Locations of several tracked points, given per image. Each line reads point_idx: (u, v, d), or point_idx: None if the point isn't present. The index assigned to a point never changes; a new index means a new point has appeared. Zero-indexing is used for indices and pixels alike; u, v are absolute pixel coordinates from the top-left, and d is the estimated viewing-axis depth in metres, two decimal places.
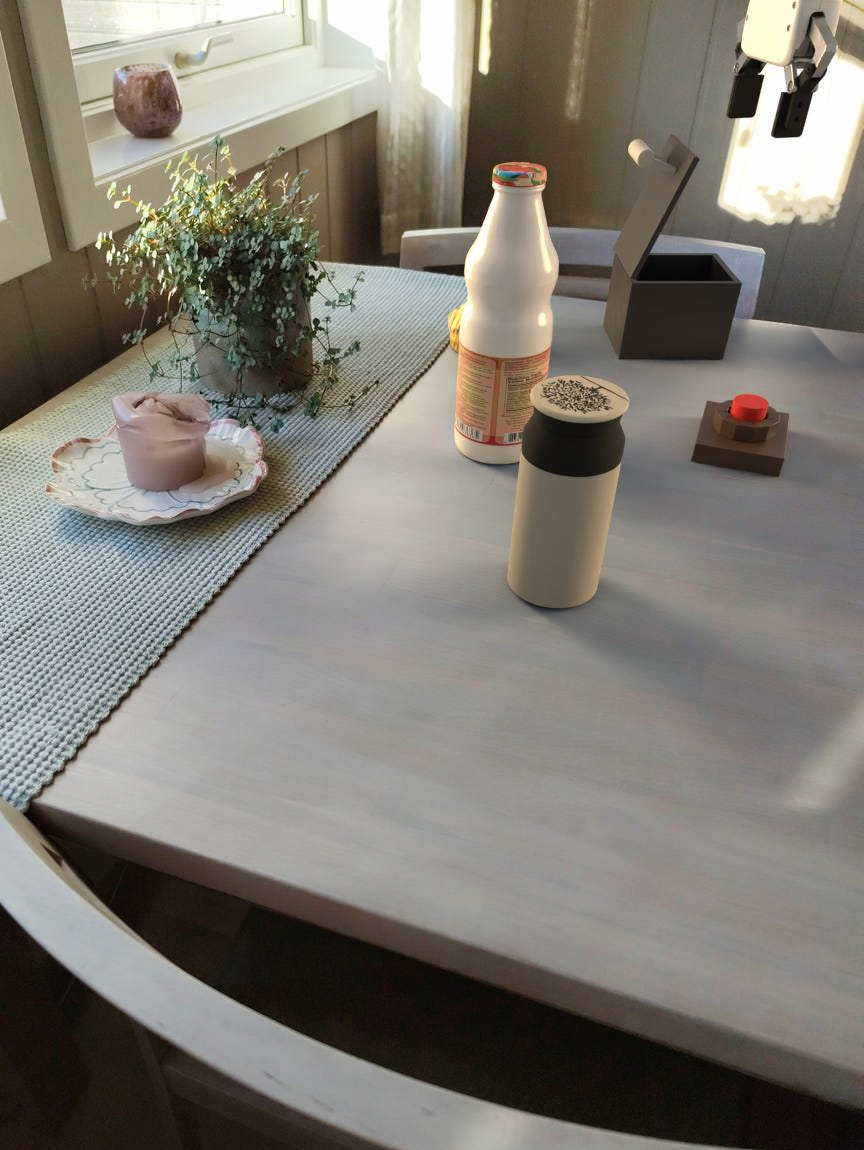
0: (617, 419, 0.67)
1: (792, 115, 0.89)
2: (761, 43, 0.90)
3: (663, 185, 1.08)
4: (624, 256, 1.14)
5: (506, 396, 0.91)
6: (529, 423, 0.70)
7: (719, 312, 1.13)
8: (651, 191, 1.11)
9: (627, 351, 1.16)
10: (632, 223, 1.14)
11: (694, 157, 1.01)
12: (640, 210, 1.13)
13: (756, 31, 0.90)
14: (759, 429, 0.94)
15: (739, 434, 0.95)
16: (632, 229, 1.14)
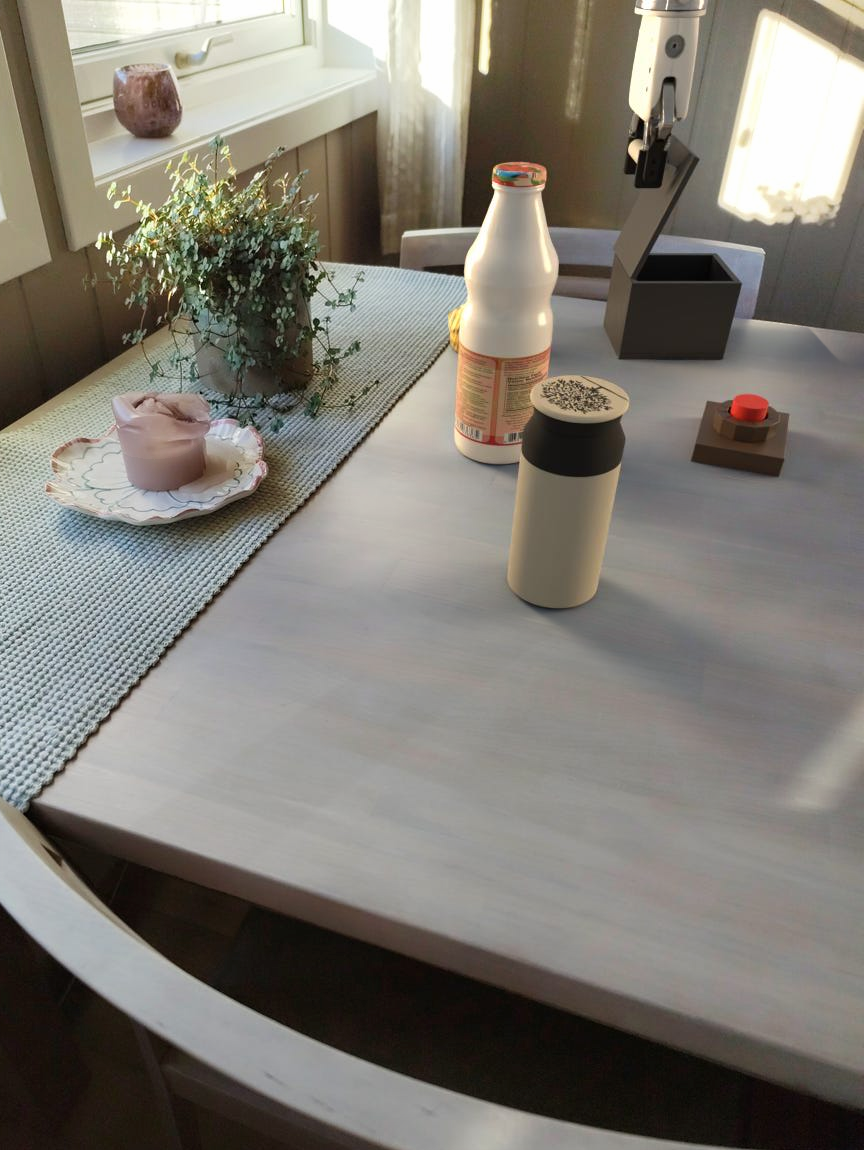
0: (617, 419, 0.67)
1: (648, 170, 1.04)
2: (635, 100, 1.03)
3: (663, 185, 1.08)
4: (624, 256, 1.14)
5: (506, 396, 0.91)
6: (529, 423, 0.70)
7: (719, 312, 1.13)
8: (651, 191, 1.11)
9: (627, 351, 1.16)
10: (632, 223, 1.14)
11: (694, 157, 1.01)
12: (640, 210, 1.13)
13: (633, 89, 1.03)
14: (759, 429, 0.94)
15: (739, 434, 0.95)
16: (632, 229, 1.14)
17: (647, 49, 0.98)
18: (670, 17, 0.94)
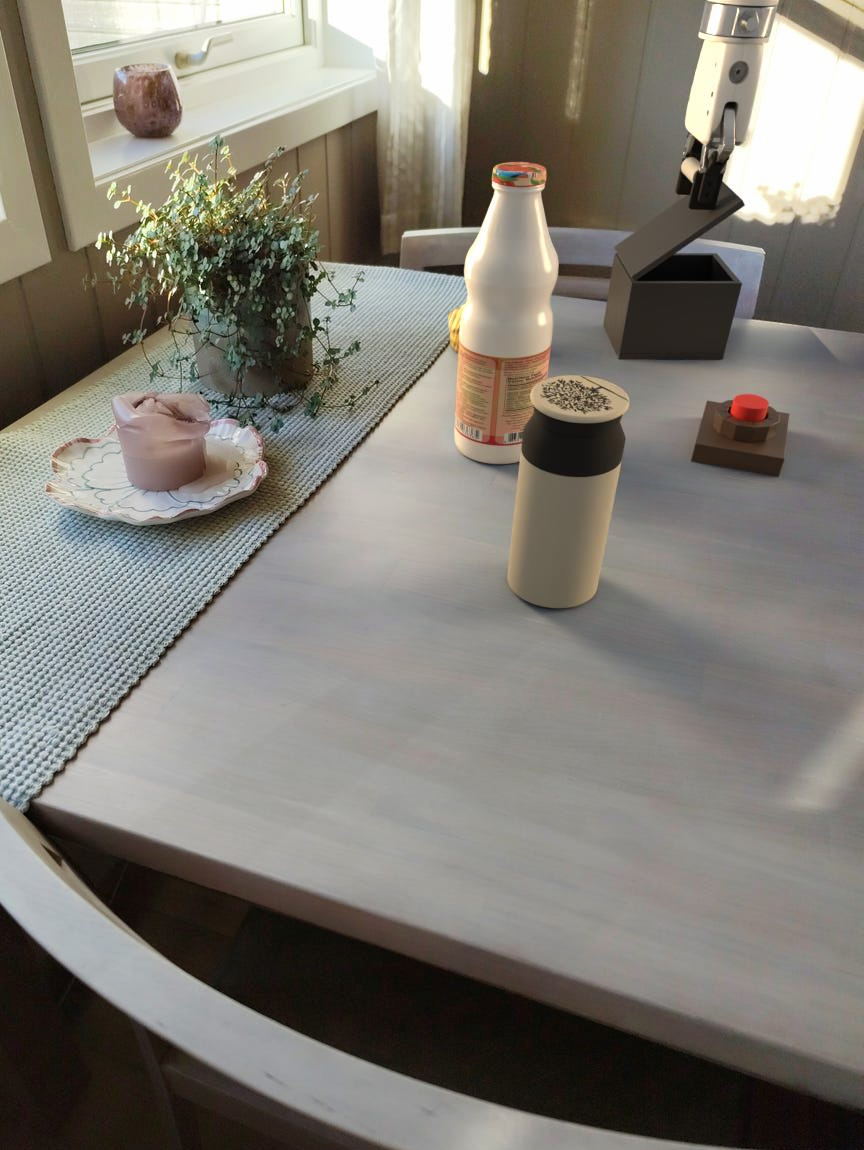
0: (617, 419, 0.67)
1: (704, 192, 1.05)
2: (693, 122, 1.04)
3: (696, 212, 1.10)
4: (628, 257, 1.14)
5: (506, 396, 0.91)
6: (529, 423, 0.70)
7: (719, 312, 1.13)
8: (678, 213, 1.13)
9: (627, 351, 1.16)
10: (645, 233, 1.15)
11: (741, 201, 1.04)
12: (659, 225, 1.14)
13: (692, 111, 1.05)
14: (759, 429, 0.94)
15: (739, 434, 0.95)
16: (645, 238, 1.14)
17: (710, 73, 0.99)
18: (735, 43, 0.96)
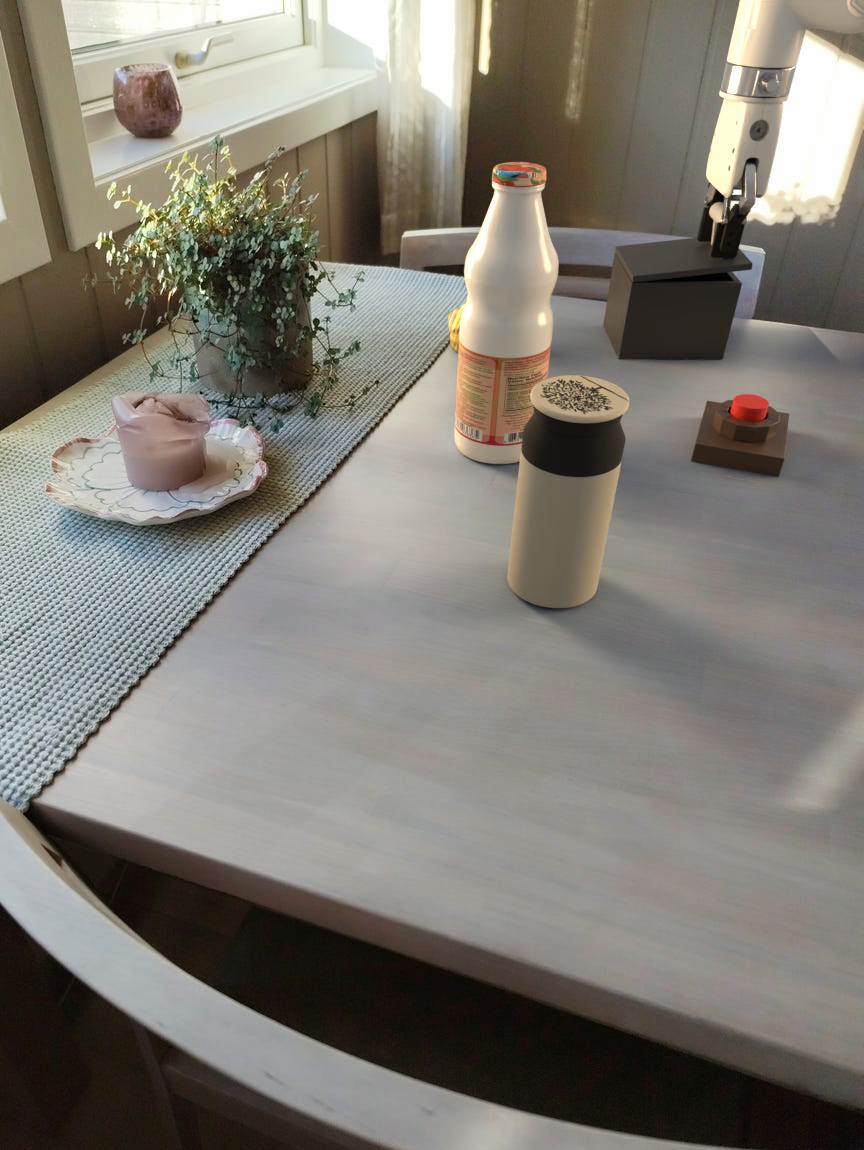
0: (617, 419, 0.67)
1: (725, 241, 1.09)
2: (715, 175, 1.08)
3: (704, 254, 1.13)
4: (631, 260, 1.14)
5: (506, 396, 0.91)
6: (529, 423, 0.70)
7: (719, 312, 1.13)
8: (687, 248, 1.15)
9: (627, 351, 1.16)
10: (650, 249, 1.16)
11: (751, 264, 1.09)
12: (665, 248, 1.16)
13: (713, 164, 1.08)
14: (759, 429, 0.94)
15: (739, 434, 0.95)
16: (650, 252, 1.15)
17: (731, 131, 1.03)
18: (756, 103, 0.99)
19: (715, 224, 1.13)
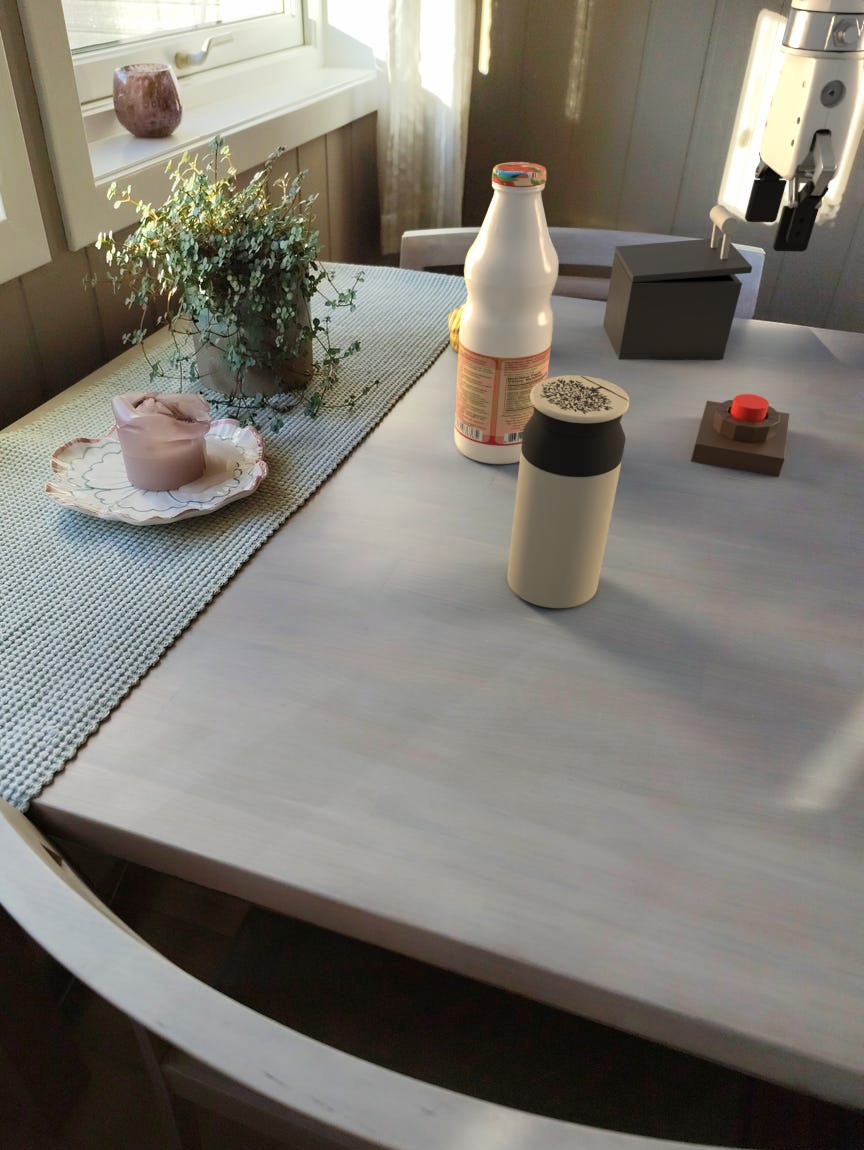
0: (617, 419, 0.67)
1: (794, 230, 0.86)
2: (772, 153, 0.87)
3: (704, 256, 1.13)
4: (631, 260, 1.14)
5: (506, 396, 0.91)
6: (529, 423, 0.70)
7: (719, 312, 1.13)
8: (686, 249, 1.15)
9: (627, 351, 1.16)
10: (650, 250, 1.16)
11: (751, 267, 1.09)
12: (665, 250, 1.16)
13: (770, 140, 0.87)
14: (759, 429, 0.94)
15: (739, 434, 0.95)
16: (650, 253, 1.16)
17: (795, 95, 0.81)
18: (829, 59, 0.78)
19: (715, 227, 1.13)
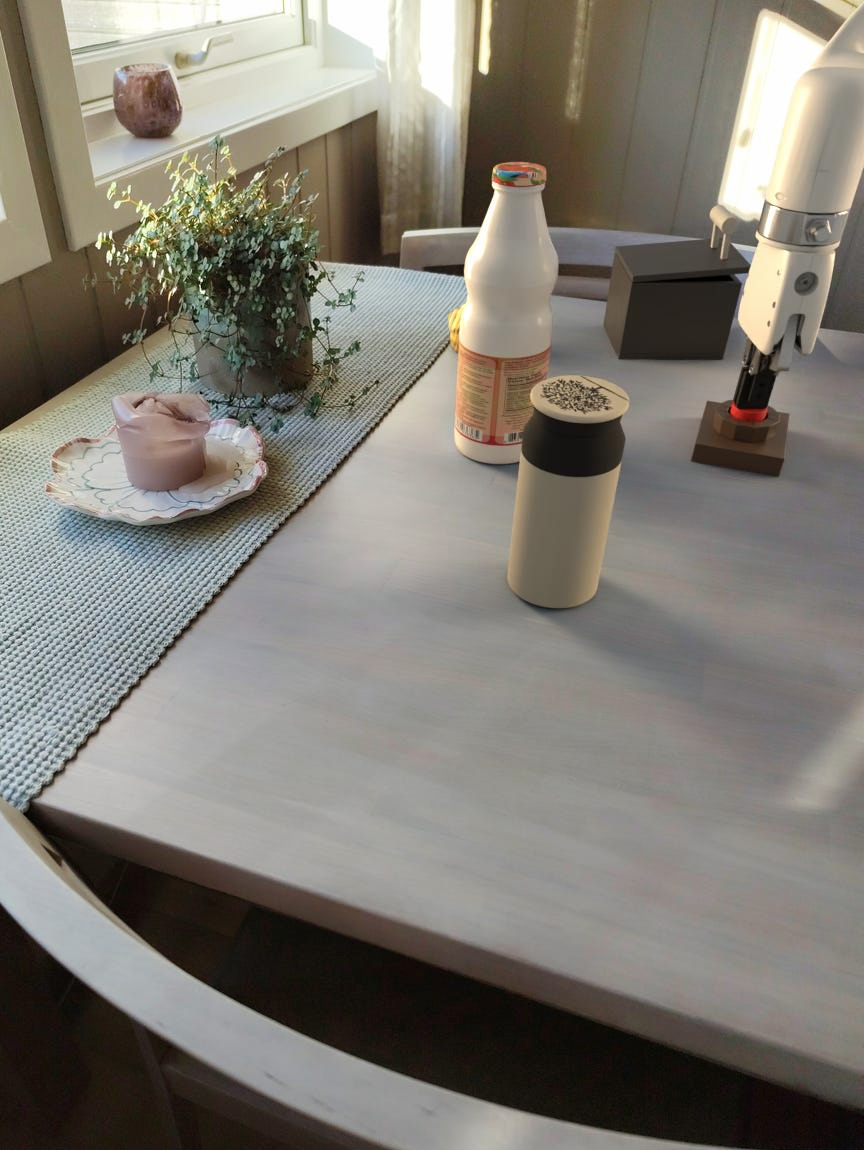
0: (617, 419, 0.67)
1: (754, 393, 0.93)
2: (750, 325, 0.90)
3: (704, 256, 1.13)
4: (631, 260, 1.14)
5: (506, 396, 0.91)
6: (529, 423, 0.70)
7: (719, 312, 1.13)
8: (686, 249, 1.15)
9: (627, 351, 1.16)
10: (650, 250, 1.16)
11: None
12: (665, 250, 1.16)
13: (747, 311, 0.91)
14: (759, 429, 0.94)
15: (739, 434, 0.95)
16: (650, 253, 1.16)
17: (771, 280, 0.85)
18: (802, 253, 0.82)
19: (715, 227, 1.13)
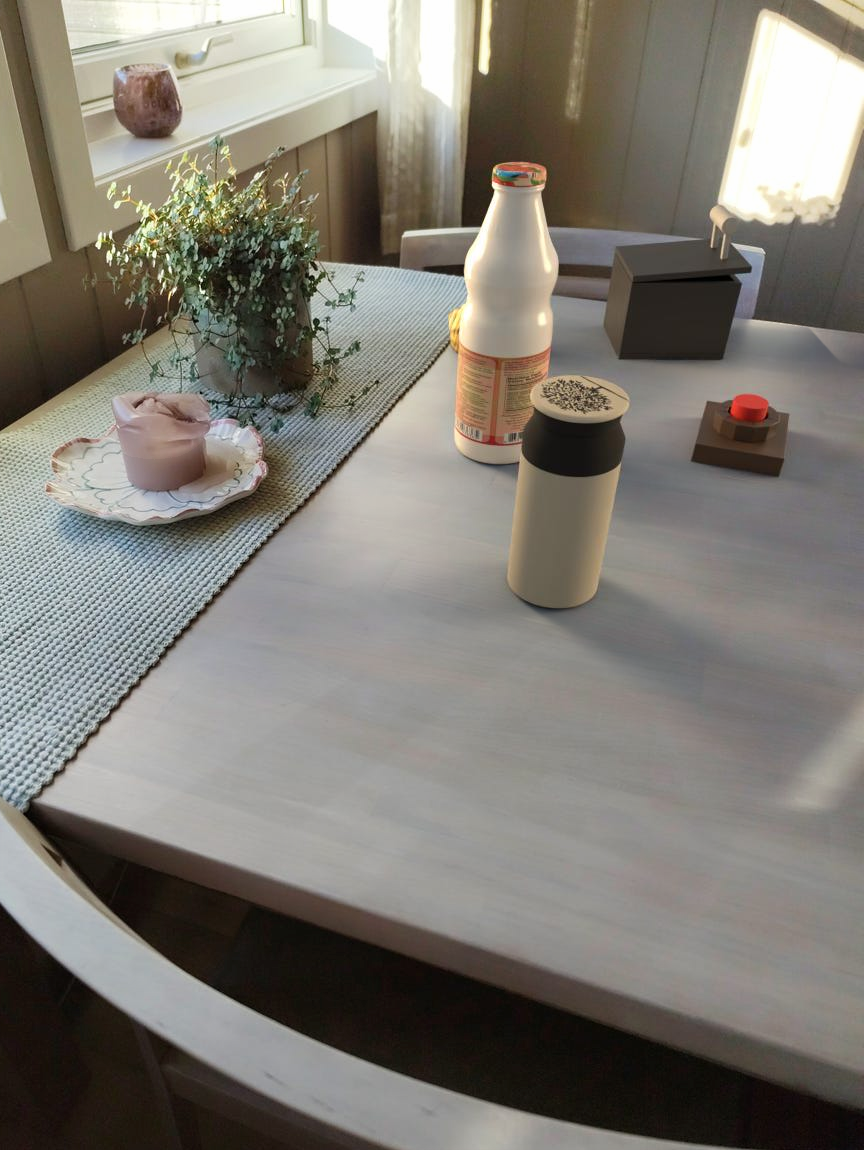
0: (617, 419, 0.67)
1: None
2: None
3: (704, 256, 1.13)
4: (631, 260, 1.14)
5: (506, 396, 0.91)
6: (529, 423, 0.70)
7: (719, 312, 1.13)
8: (686, 249, 1.15)
9: (627, 351, 1.16)
10: (650, 250, 1.16)
11: (751, 267, 1.09)
12: (665, 250, 1.16)
13: None
14: (759, 429, 0.94)
15: (739, 434, 0.95)
16: (650, 253, 1.16)
17: None
18: None
19: (715, 227, 1.13)
